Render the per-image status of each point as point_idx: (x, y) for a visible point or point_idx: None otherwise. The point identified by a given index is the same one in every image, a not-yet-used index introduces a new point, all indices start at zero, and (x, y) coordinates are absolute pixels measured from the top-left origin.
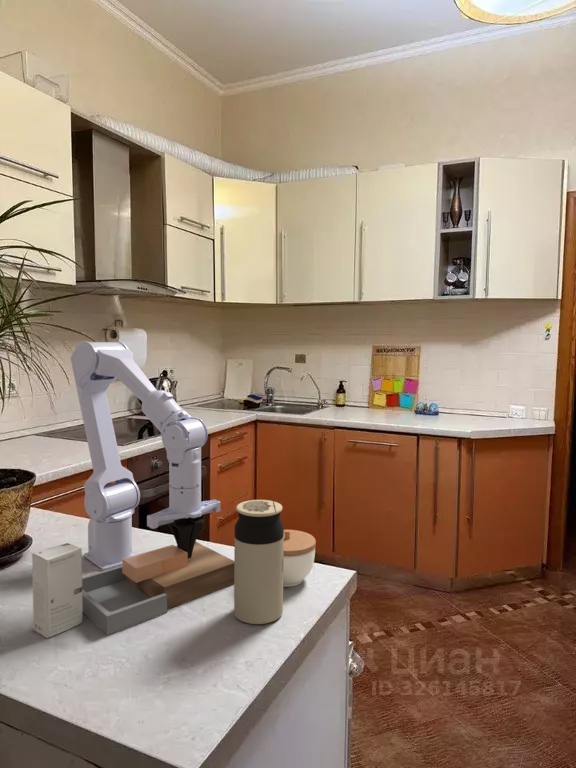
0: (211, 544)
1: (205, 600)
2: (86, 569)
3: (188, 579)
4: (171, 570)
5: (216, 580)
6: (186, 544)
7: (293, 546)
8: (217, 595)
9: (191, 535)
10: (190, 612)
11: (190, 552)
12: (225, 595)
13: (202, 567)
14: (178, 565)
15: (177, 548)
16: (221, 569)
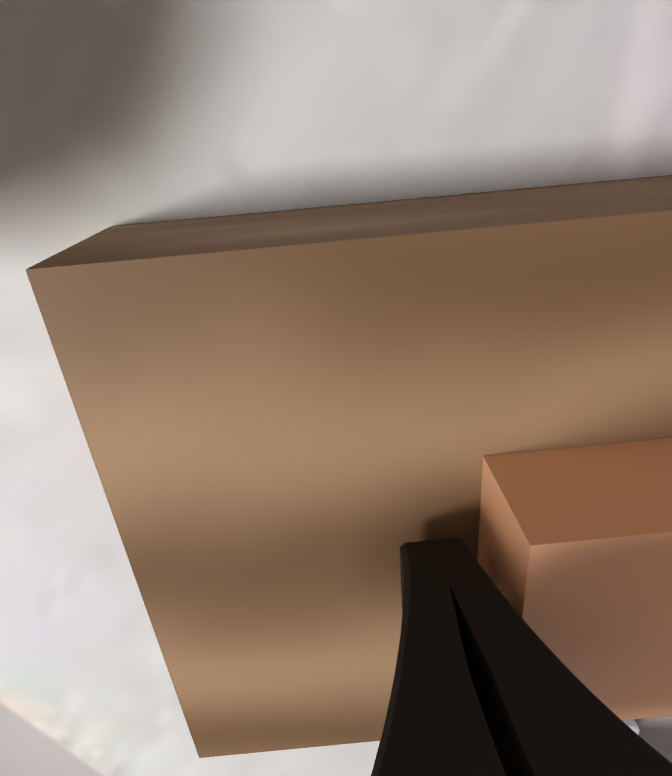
0: (52, 728)
1: (455, 119)
2: (665, 747)
3: (656, 212)
4: (654, 443)
5: (305, 221)
6: (528, 652)
7: None
8: (336, 135)
9: (497, 763)
10: (660, 5)
11: (433, 573)
12: (284, 90)
13: (396, 362)
14: (592, 466)
15: None
16: (240, 244)
